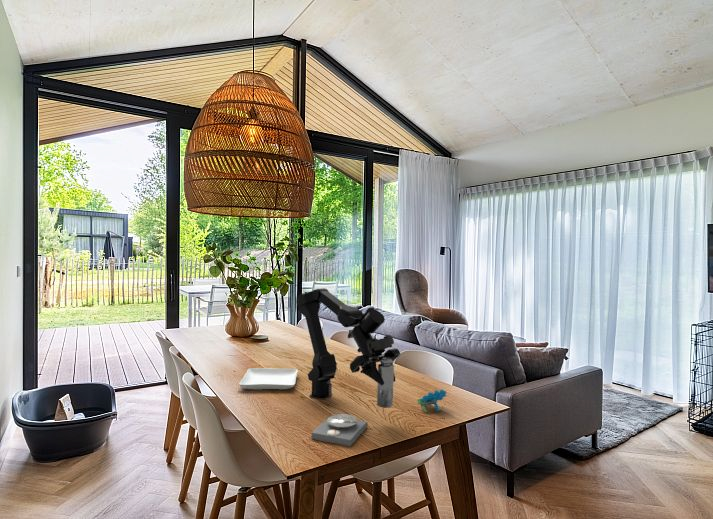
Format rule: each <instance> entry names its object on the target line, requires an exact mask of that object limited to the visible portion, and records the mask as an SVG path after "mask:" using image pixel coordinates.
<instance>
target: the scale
mask: <svg viewBox="0 0 713 519" xmlns="http://www.w3.org/2000/svg"><path fill="white" fill-rule="evenodd" d="M332 415H333V414H332ZM332 415H330V416H332ZM366 427H367V428H368V421H367V420H359V419H357V424H356V425H354V426H352V427H348V428H338V427H333V426H331V425H329V424H328V423H327V419H325V420H324V421H323V422H322V423H321V424H320V425H319V426H317V427H316V428H315V429H313V431H311V433H310V434H311V438H310V439H311V440H316V441H320V442H321V441H322V442H326V443H331V444H337V445H340V446H346V447H351V446H352V445H353V444H354V443H355V441H356V440H357V439H358V438H359V437H360V436H361V435H362V434H363V432H364V431H365V430H366V429H367V428H366ZM360 434H361V435H360Z"/></svg>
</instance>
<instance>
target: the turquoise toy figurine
mask: <svg viewBox="0 0 713 519" xmlns="http://www.w3.org/2000/svg"><path fill="white" fill-rule="evenodd" d="M446 396H447V392H446V390H444V389H440V390H438V389H436V390H434V391H433V393H432V391H431V392H428V393H427V395H425V394H424V395H423V396H422V398H418V399H417V400H416V401H417V404H418V405H420V407H422V408H423V411H424V413H427V412H428V410H427V408H426V406H427V407H428V406H430V405H434V408H435V410H436V412H437V413H438V412H441V409H440V407H439V405H438V402H439V401H442V400H443V399H444V398H445V397H446Z"/></svg>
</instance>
